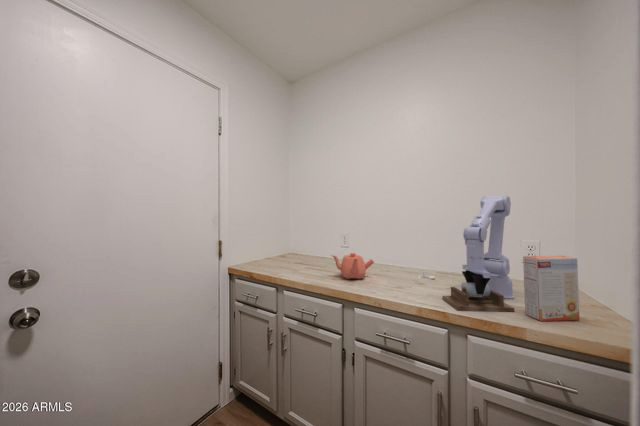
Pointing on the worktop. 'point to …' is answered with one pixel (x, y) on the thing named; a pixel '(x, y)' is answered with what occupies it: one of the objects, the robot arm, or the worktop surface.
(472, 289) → the roll
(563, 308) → the cracker box
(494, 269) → the robot arm
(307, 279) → the worktop surface
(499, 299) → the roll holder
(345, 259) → the teapot
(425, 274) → the teacup and saucer
